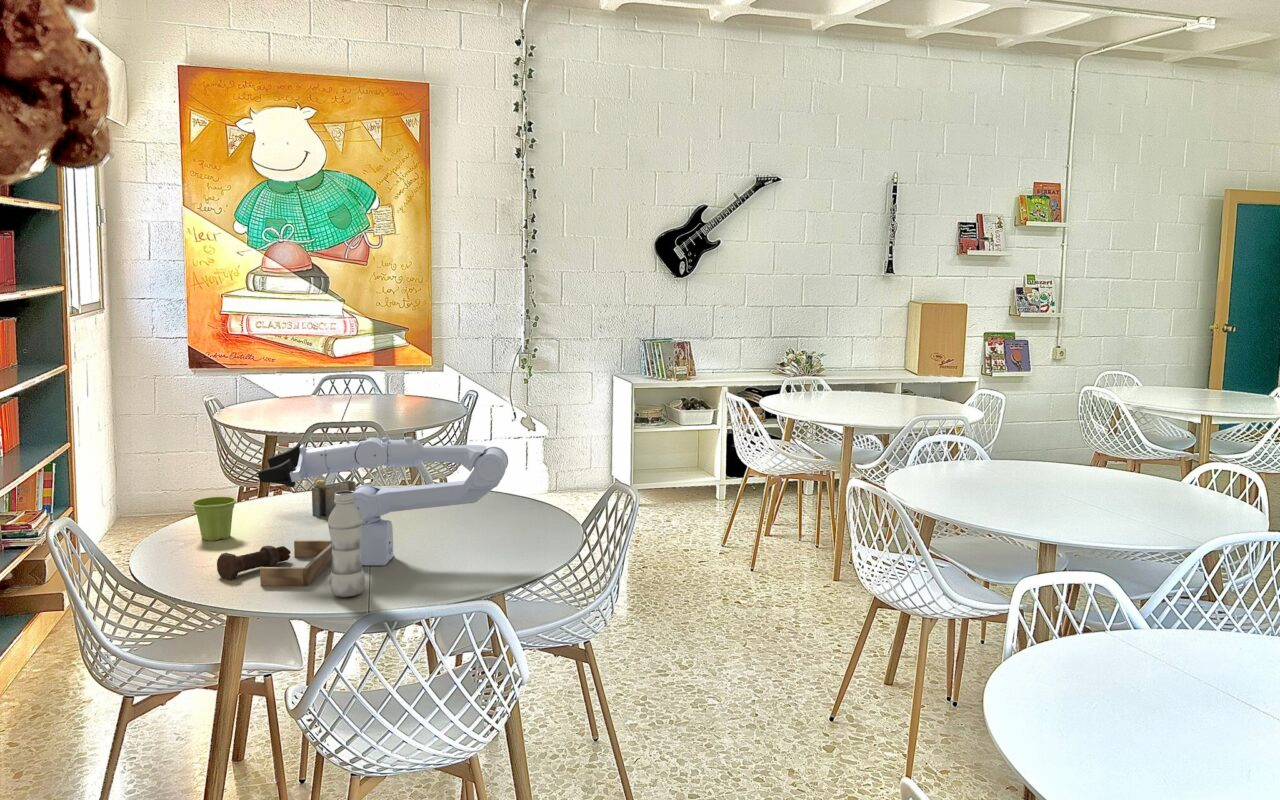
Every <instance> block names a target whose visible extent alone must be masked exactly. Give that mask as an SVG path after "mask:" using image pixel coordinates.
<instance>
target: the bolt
mask: <svg viewBox="0 0 1280 800" xmlns="http://www.w3.org/2000/svg"><path fill="white" fill-rule="evenodd" d="M291 553H292V552H291V550H290V549H288V548H287V547H286V546H284V545H282V546H281V545H280V546H277V547H275V546H272V545H264V546H262V547H261V548H260V549H259V551H255V552H252V553H246V554H241V555H236V554H233V553H228V552H223V553H221V554H219V556H218V558H217V560H216V571H217V574H218V575H219V577H220V578H221V579H222V578H223V580H225V579H226V581H232V579H233V580H236V579H237V578H238V575H239V574H240V573H241V572H245V571H249V570H254V569H256V568H261V567H278V564H279V563H282V562H286V561H289V560H290V558H291V555H290V554H291Z"/></svg>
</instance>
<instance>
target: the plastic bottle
mask: <svg viewBox="0 0 1280 800" xmlns="http://www.w3.org/2000/svg"><path fill="white" fill-rule="evenodd" d="M354 502H355V495H354V491H339V492H336V493H335V500H334V503H335V504H336V506H335V508H334V509H333V510H332V512H331V514H330V515H328V520H327V526H328V531H329V537H330V540H331V547H332V563H331V572H330V577H329V586H330V587H329V588H330V591H331V593H332V594H333V595H334V596H335V597H339V598H348V597H349V598H350V597H354V596H358V595H360V594H361V593H362V592H363V590H364V589H365V584H366V579H365V573H364V570H363V565H362V561H361V548H360V546H361V532H362V523H363V518H362V515H361V513H360V512H359V510H358V509H357V508H356V507H355V505H354Z"/></svg>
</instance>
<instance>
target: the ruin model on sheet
mask: <svg viewBox="0 0 1280 800" xmlns="http://www.w3.org/2000/svg"><path fill="white" fill-rule="evenodd" d="M326 481H327V479H324V480H322V481H321V480H319V481H317V482H316V483H314V484H312V485H313V487H311V502H312V503H311V506H312V507H311V509H312V516H313V517H315V516H316V517H317V518H320V517H321V515H323V514H325V516H330V514H331V512H332V510H333V509H334V508H335V506H336V504H335V503H334V500H335V493H336V492H339V491H355V489H357V488H356V487H357V486H356V481H354V480H345V481H340V482H333V483H329V484H326Z"/></svg>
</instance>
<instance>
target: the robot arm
mask: <svg viewBox="0 0 1280 800" xmlns="http://www.w3.org/2000/svg"><path fill="white" fill-rule="evenodd" d="M267 462H268V466H269V468H265V469H261V470H260V471H258V472H257V475H258V479H259V482H260V483H265V484H279V485H283V486H287V487H289V488H294V487H295V486H296V482H301V481H302V480H303V479H309V478H311V477H315V476H322V475H328V474H335V473H340V472H346V471H352V470H354V469H361V468H365V469H370V470H375V469H377V468H379V467H380V466H381V465H382V466H384V467H388V468H389V467H391V468H394V467H395V468H397V467H398V468H400V467H401V468H417V467H419V465H420V464H421V463H423V462H433V463H447V464H451V463H453V464H461V466H463V467H464V468H465V469H467V471H468V472H471V473H469V474H468V476H467V478H466V479H465V480H460V481H459V480H458V481H448V482H447V481H446V482H439V483H431V484H420V485H411V486H400V487H393V488H392V487H387V486H382V487H381V486H380V487H379V486H378V487H377V486H374V485H372V484H362V485H359V486H358V487H357V488H356V489H355V491H354V495H355V502H354V505H355V507H356V508H357V509H358V510H359V512H360V513H361V515H362V518H363V523H362V532H361V546H360V548H361V561H362V566H387V564H388V563H389V562H390V560H391V559H392V558H393V557H394V556H395V553H394V531H393V529H394V528H393V523H392V521H391V520H389V519H388V520H387V519H382V518H381V517H382V516H384V515H387V514H389V513H393V512H403V511H412V510H421V509H422V510H423V509H431V508H439V507H448V506H449V507H450V506H457V505H466V504H467V505H469V504H474V503H476V502H478V501H480V500H481V499H482V498H483V497H485V496H486V495H487V494H488V493H490V492H491V491H492V490H493V489H496V487H498V486H499V484H501V482H502V479H503V478H504V475H505V474H506V469H507V467H508V465H509V456H508V454H507V453H506V451H505V450H504V449H503V448H501V447H498V446H489V447H488V446H487V445H480V444H477V445H476V444H459V445H457V444H456V445H452V444H451V445H423V444H422V443H421V442H420V441H419V440H418V439H413V437H412V436H406V437H405V438H404V439H389V438H388V437H386V436H385V437H384V436H383V437H382V438H378V437H373V436H370V437H367V438H366V439H364V440H363V441H355V442H352V443H349V442H347V443H341V444H335V445H334V444H332V445H327V446H319V447H315V446H311V447H306V445H305V444H301V443H298V444H296V445H295V446H294V447H292V448H290V449H288V450H286V451H284V452H281V453H279V454H276V455H273V456H271V457H269V458H268V459H267Z"/></svg>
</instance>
